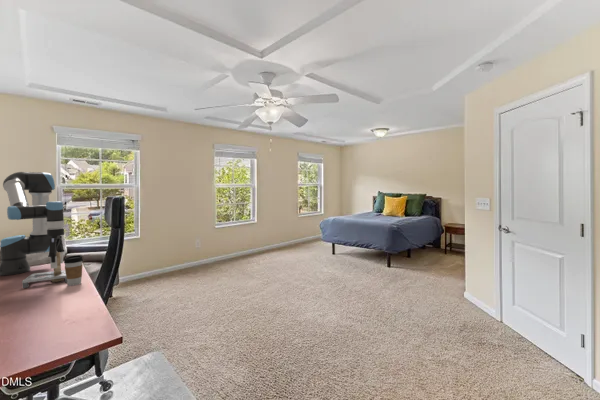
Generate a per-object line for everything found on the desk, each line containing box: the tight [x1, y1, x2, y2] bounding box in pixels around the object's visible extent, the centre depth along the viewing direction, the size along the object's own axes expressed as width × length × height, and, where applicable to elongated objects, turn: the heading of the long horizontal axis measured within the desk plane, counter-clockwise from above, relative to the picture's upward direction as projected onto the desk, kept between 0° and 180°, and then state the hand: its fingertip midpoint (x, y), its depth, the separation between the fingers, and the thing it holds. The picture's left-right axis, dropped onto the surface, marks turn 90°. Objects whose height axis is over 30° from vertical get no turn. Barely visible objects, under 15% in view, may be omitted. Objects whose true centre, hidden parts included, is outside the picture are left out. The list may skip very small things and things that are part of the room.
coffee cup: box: [63, 254, 84, 287], centre depth 160 cm, size 8×8×15 cm
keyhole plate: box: [21, 269, 67, 289], centre depth 166 cm, size 16×20×4 cm
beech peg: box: [51, 252, 65, 283], centre depth 168 cm, size 6×6×16 cm
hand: (57, 265), depth 168 cm, fingers open, 13 cm apart
